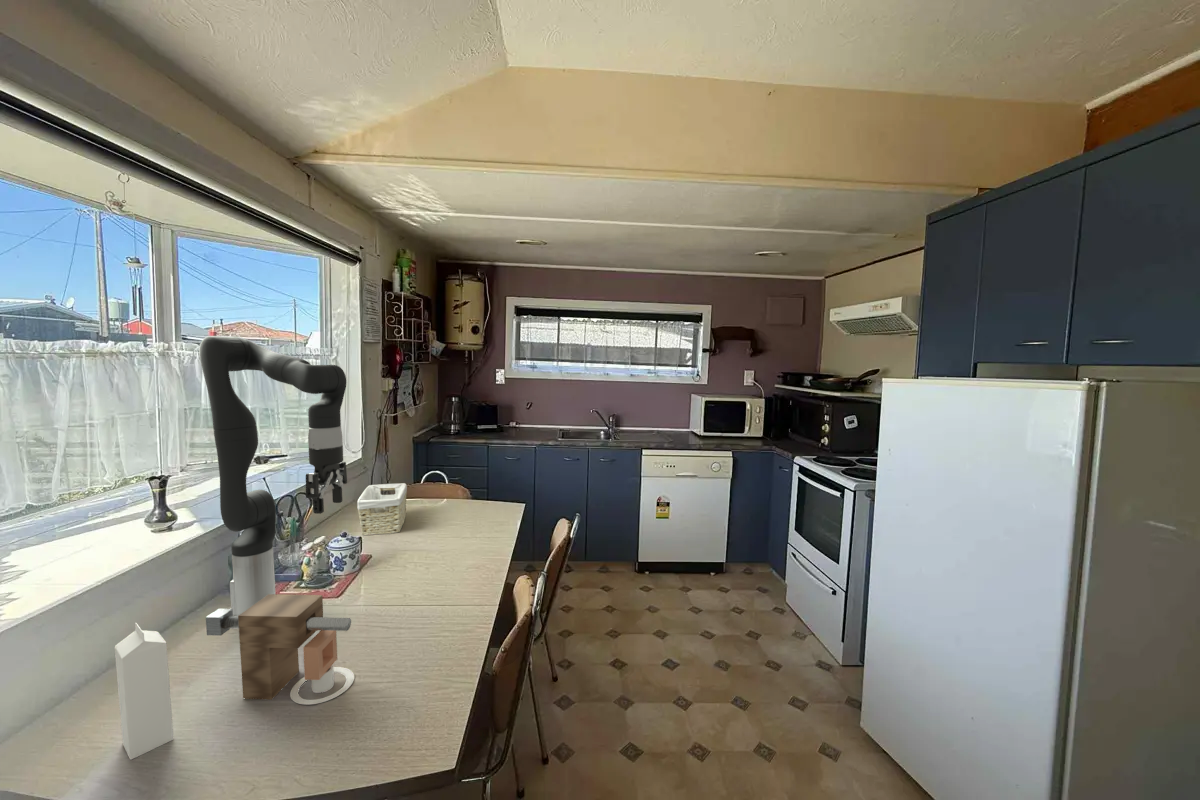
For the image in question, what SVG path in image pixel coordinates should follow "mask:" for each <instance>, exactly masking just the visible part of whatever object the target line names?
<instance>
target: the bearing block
mask: <svg viewBox="0 0 1200 800" xmlns="http://www.w3.org/2000/svg"><path fill="white" fill-rule="evenodd" d="M323 603H324V602H323V595H322V594H281V593H279V594H276V593H275V594H268V595H267V596H265V597H264V598H262V599H261V600H260V601H258V602H257V603H255V604H254V605H253V606H251V607H250V608H248V609H247V610H246V611H244V612H243V613H241V614H240V615H239V616H238V622H239V629H238V635H239V636H238V638H239V652H240V653H239V654H240V666H241V667H240V668H241V670H240V671H241V684H242V685H241V686H242V699H243V698H245V699H244V700H265V699H266V701H268V700H271V701H273V699H275V697H276V696H277V695H279V693H280V692H281V691H282V690H283V689H284V688H285V687H286V686H287V685H288V684H289V683H290V682H291V681H292V680H291V679H294V678H295V676H297V675H298V674H299V673H300V663H299V662H300V657H299V648H300V647H301V646H302V645H303V644H304V643H306V642H307V641H308V640H309V639H310V638H311V636H313V635H314V634H315V633H317V631H318V630H306V620H307V619H308V618H309V617H324V604H323ZM290 680H291V681H290ZM289 681H290V682H289ZM288 682H289V683H288ZM287 683H288V684H287ZM286 684H287V685H286ZM285 685H286V686H285ZM282 688H283V689H282ZM281 689H282V690H281Z"/></svg>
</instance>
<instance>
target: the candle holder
mask: <svg viewBox="0 0 1200 800" xmlns="http://www.w3.org/2000/svg"><path fill="white" fill-rule="evenodd" d="M335 674H341V675H343V676H344V677H345V683H344V684H343V686H342V687H341V688H340V689H339V690H337V691H335V692H334V693H332V694H330V695H327V696H325V697H322V698H317V699H305V698H302V697H301V696H300V695H299V694H298V692H300V689H299V687H300V686H301V685H302V684H303V683H304V682H305V681H307V680H305V676H303V677H302V678H300V679H299V680H298V681H297V682H296V683H295V684H294V685H293V686H292V688H291V689H290V693H289V695H290V699H291V701H293V702H294V703H296V704H299V705H305V706H306V705H307V706H308V705H316V704H321V703H325V702H327V701H331V700H332V699H336V697H338V696H340V695H342V694H343V693H344V692H346V691H347V690H348V689H349V688H350V687H351V686H352V685H353V683H354V680H355V674H354V672H353V671H352V669H349V668H347V667H343V666H334V664H333V665H332V666H331V667H330V668H329V669H328V670H327V672H326V673H325V674H324V675H323V676H322V677H321V678H320V680H310V681H311V682H310V683H311V691H312V692H313V693H315V694H321V692H322V693H325V692H328V691H329V690H331V689H332V688H333V687H334V685H335ZM307 682H308V681H307ZM305 683H306V682H305ZM305 683H304V684H305ZM304 684H303V685H304ZM303 685H302V686H303ZM302 686H301V687H302ZM298 689H299V691H298Z"/></svg>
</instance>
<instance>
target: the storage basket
mask: <svg viewBox="0 0 1200 800" xmlns="http://www.w3.org/2000/svg"><path fill="white" fill-rule="evenodd" d="M407 487H408V486H407V484H406V483H405V482H402V483H383V484H382V483H381V484H370V485H368V486H367V487H366V488H365V489H364V490H363V491H362V493H361V495H360V496H359V498H358V499H357V512H358V517H359V524H360V525H359V526H360V530H361V535H362V536H371V535H372V536H374V535H386V534H387V535H388V534H395V533H400V531H401V529H402V527H403V525H404V523H405V519H406V516H407V493H408V491H407V490H408V488H407ZM382 491H394V492H395V493H394V494H382V493H381V492H382Z"/></svg>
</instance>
